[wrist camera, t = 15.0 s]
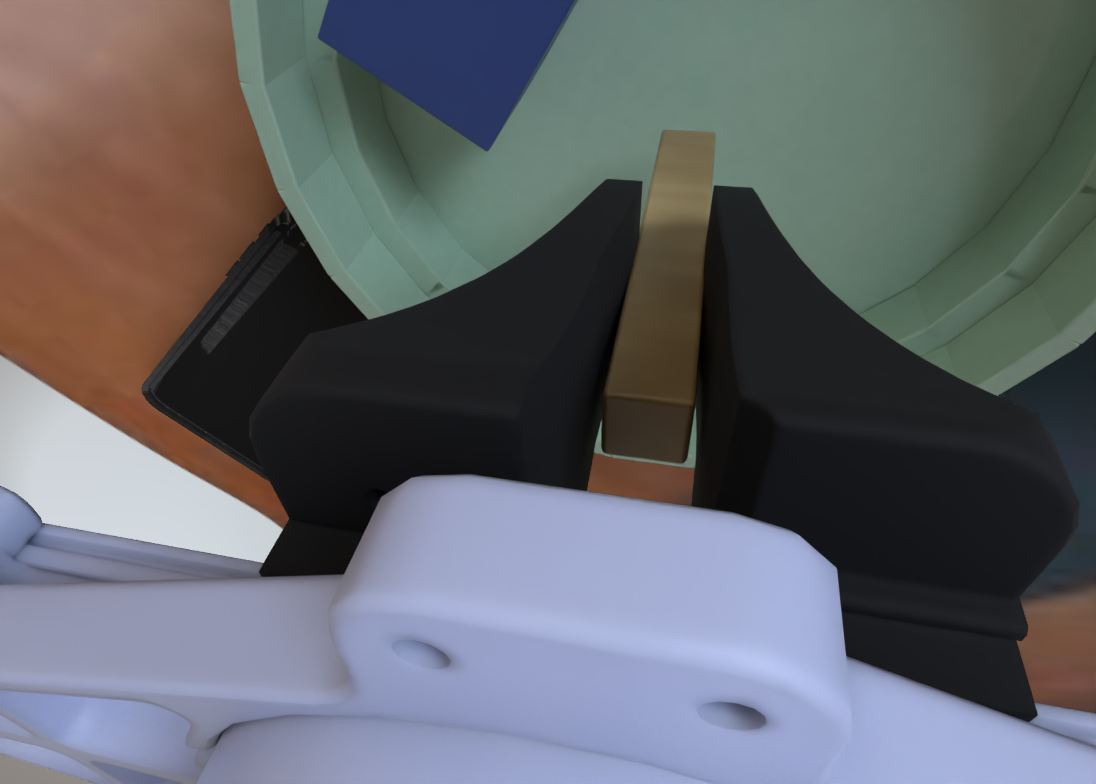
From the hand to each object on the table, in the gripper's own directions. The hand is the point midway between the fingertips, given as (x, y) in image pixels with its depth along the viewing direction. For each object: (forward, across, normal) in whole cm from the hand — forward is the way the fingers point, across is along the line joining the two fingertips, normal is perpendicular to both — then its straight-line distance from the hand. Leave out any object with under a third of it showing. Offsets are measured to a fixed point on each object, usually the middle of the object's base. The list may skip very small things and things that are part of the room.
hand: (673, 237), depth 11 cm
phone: (+8, +15, +11) cm, 20 cm away
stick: (+5, 0, +1) cm, 5 cm away
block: (+7, +5, -3) cm, 9 cm away
